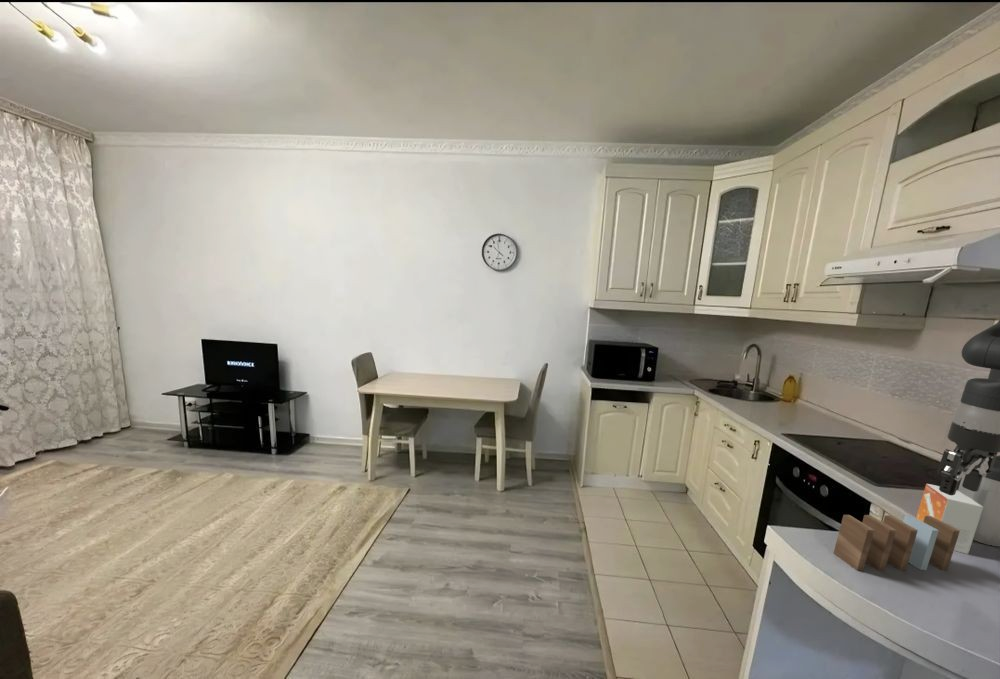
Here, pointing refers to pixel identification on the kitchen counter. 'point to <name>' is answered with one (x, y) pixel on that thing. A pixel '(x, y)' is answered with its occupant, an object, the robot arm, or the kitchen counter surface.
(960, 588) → the kitchen counter surface
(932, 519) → the domino
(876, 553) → the domino
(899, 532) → the domino
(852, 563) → the domino
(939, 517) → the small box
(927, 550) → the domino
